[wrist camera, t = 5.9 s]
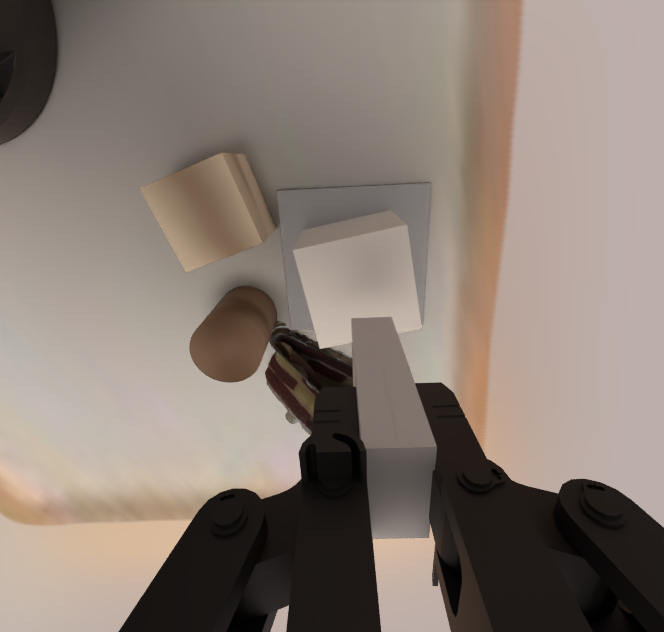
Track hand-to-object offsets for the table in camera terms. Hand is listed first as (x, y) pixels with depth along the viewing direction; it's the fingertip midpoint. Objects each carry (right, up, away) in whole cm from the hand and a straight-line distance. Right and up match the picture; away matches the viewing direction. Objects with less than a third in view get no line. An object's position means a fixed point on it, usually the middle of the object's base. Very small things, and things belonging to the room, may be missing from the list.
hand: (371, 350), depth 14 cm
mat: (0, +5, +12) cm, 13 cm away
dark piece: (-2, -4, +17) cm, 17 cm away
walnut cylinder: (-8, +1, +14) cm, 16 cm away
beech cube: (-9, +9, +11) cm, 16 cm away
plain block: (0, +5, +11) cm, 12 cm away
